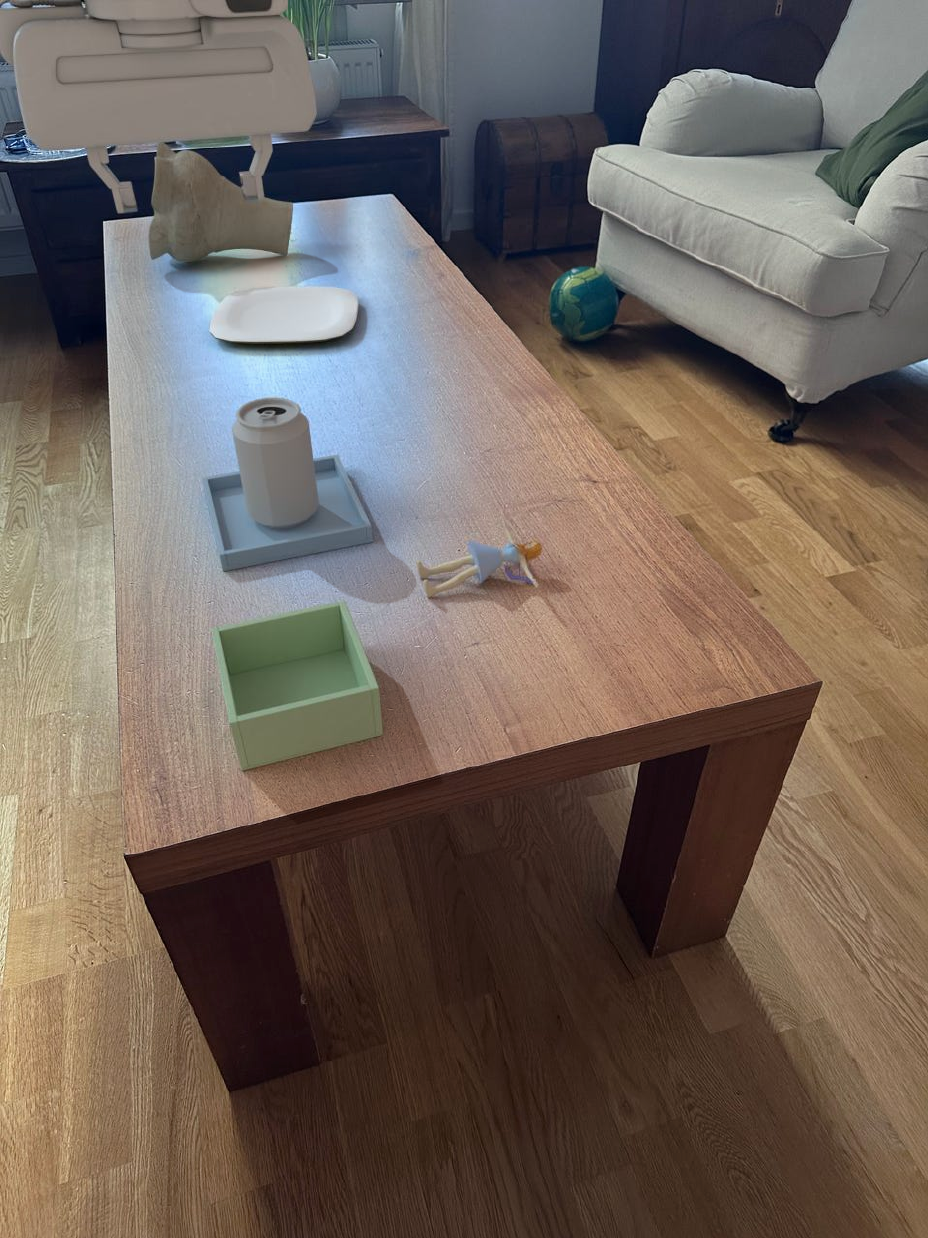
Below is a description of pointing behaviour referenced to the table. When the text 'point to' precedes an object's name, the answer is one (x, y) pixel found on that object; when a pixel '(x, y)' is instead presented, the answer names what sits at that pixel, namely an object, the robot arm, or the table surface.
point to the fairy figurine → (484, 563)
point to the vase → (209, 212)
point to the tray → (257, 544)
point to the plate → (285, 315)
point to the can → (275, 462)
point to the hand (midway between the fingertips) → (191, 204)
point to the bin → (296, 684)
